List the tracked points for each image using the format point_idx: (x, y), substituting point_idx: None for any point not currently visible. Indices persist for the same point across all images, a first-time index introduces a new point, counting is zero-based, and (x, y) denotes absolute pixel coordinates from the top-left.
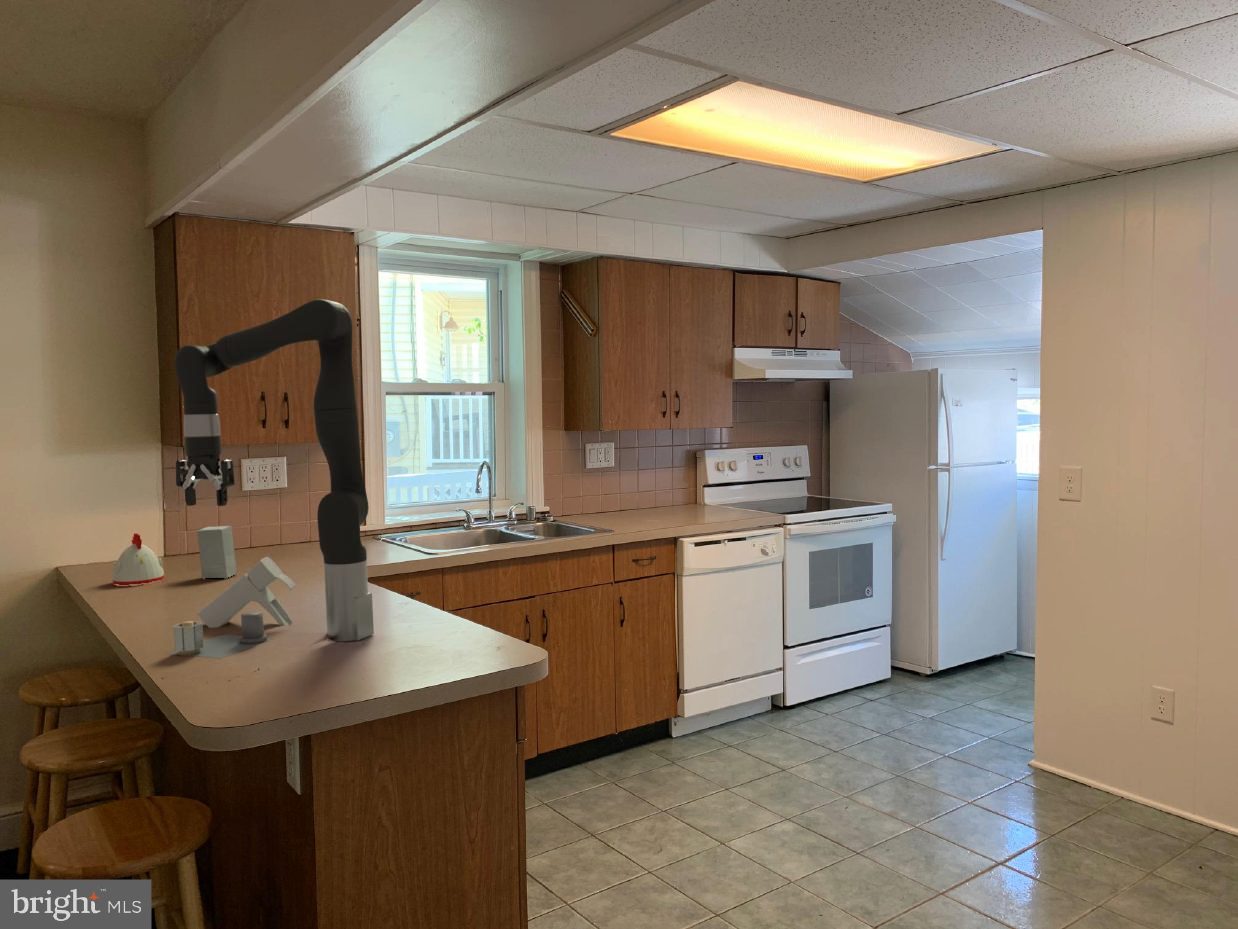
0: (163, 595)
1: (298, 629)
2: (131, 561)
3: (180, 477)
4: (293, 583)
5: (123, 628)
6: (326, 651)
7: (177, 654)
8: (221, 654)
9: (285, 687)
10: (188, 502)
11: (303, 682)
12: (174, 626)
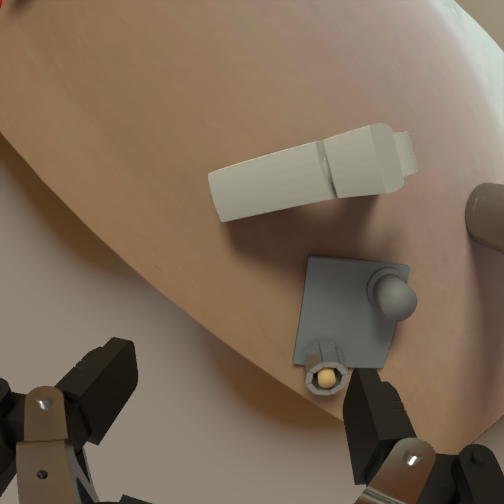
0: (26, 39)
1: None
2: None
3: (11, 477)
4: (409, 135)
5: (87, 210)
6: (482, 288)
7: None
8: (374, 354)
9: (469, 400)
10: (128, 393)
11: (480, 385)
12: (312, 391)
